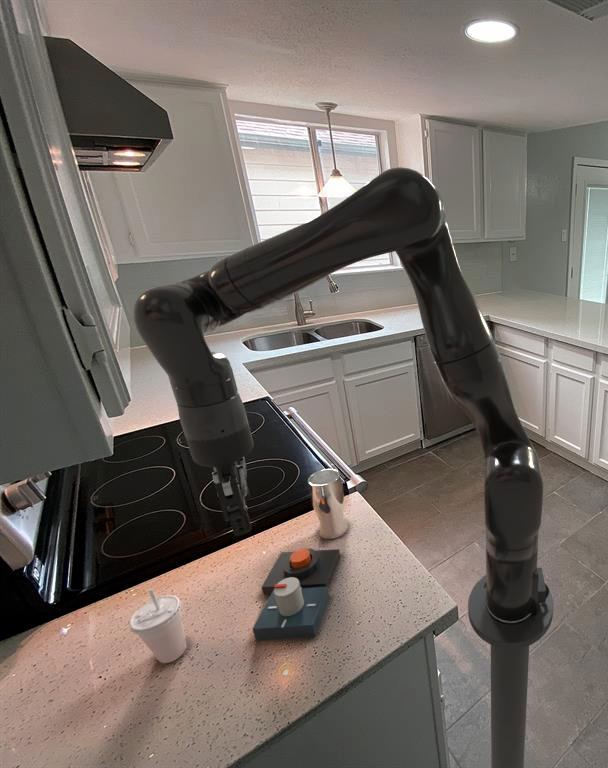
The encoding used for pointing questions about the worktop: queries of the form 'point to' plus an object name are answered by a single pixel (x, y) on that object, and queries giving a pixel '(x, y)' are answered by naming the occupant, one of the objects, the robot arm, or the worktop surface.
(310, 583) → the orange push button panel
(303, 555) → the button
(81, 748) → the worktop surface
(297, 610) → the dial
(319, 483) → the silver metal cup
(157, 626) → the smoothie
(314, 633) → the knob panel
